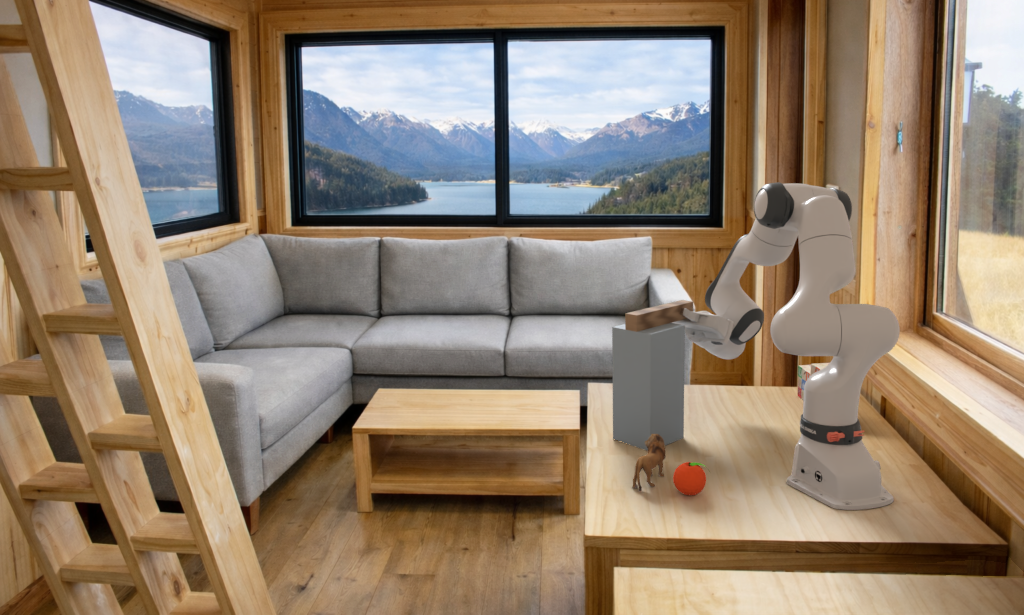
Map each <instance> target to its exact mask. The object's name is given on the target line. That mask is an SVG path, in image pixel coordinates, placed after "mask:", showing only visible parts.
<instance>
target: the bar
mask: <svg viewBox="0 0 1024 615" xmlns="http://www.w3.org/2000/svg"><path fill="white" fill-rule="evenodd" d="M681 308H685V309H688V310H690V311H692V312H693V311H694V301H691V300H687V299H686V300H684V299H680V300H675V301H673V302H672V301H671V302H667V303H664V304H660V305H654V306H651V307H646V308H641V309H637V310H635V311H630V312H627V313H626V312H625V318H624V319H625V322H624V324H625V330H630V331H635V332H638V331H642V330H645V329H649V328H653V327H657V326H661V325H664V324H668V323H672V322H676V321H680V320H684V319H687V318H686V317H683V316H682V315H680V311H681Z"/></svg>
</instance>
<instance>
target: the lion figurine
mask: <svg viewBox="0 0 1024 615" xmlns="http://www.w3.org/2000/svg"><path fill="white" fill-rule="evenodd" d="M645 446H646V447H647V449H648V451H647V454H645V455H641V456H639V457H637V460H636V462H635V467H634V468H635V469H634V475H633V478H632V485H631V487H632V489H637V488H638V491H639V492H642V485H641V478H640V477H641V476H640V475H641V471H642V470H643V472H644V473H645V476H646V483H647V485H648V486H649V487H652V488H653V487H655V483H654V482H652V480H651V477H652V476H653V470H654V469H656V468H657V467H658V471H657V476H658V477H660V478H664V476H665V474H664V473H663V471H664V460H665V459H666V455H667V454H666V453H667V452H666V445H665V444H664V439H663V438H662V437H661V436H660V435H659V434H651V436H650V437H649V439H648V440H647V441H645Z"/></svg>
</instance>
